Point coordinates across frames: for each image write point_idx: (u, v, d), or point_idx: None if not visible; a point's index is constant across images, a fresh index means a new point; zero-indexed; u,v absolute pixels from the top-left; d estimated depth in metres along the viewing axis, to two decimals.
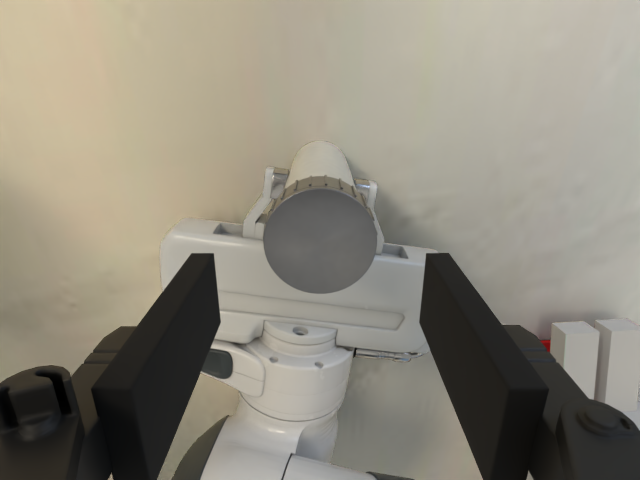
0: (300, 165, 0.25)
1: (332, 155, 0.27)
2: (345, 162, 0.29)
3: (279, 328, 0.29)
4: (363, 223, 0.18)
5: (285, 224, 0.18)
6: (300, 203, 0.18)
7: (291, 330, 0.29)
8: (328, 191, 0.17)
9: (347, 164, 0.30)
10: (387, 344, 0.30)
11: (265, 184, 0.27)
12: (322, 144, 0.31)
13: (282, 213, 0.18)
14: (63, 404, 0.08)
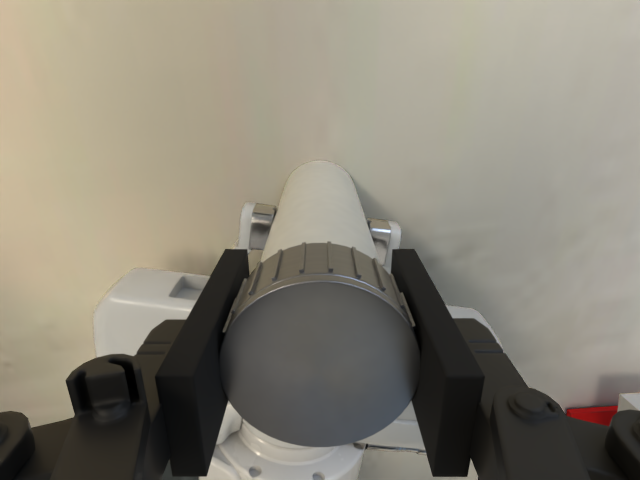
0: (291, 205, 0.17)
1: (337, 186, 0.19)
2: (355, 193, 0.21)
3: None
4: (398, 339, 0.10)
5: (257, 341, 0.10)
6: (283, 306, 0.10)
7: None
8: (335, 286, 0.09)
9: (357, 195, 0.22)
10: (412, 440, 0.22)
11: (241, 229, 0.19)
12: (323, 166, 0.23)
13: (251, 322, 0.10)
14: (132, 392, 0.08)
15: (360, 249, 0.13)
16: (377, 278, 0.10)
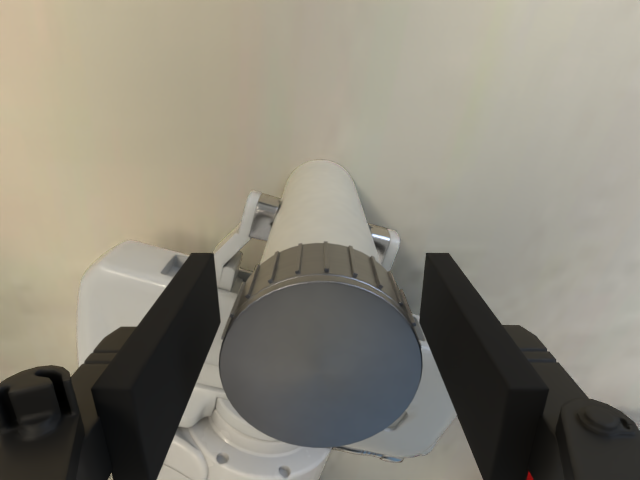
0: (298, 200, 0.17)
1: (344, 188, 0.20)
2: (358, 198, 0.21)
3: (236, 413, 0.21)
4: (292, 301, 0.09)
5: (276, 414, 0.11)
6: (242, 389, 0.10)
7: None
8: (226, 347, 0.10)
9: None
10: (379, 445, 0.22)
11: (244, 216, 0.19)
12: (329, 166, 0.23)
13: (257, 415, 0.11)
14: (63, 404, 0.08)
15: (368, 252, 0.13)
16: None
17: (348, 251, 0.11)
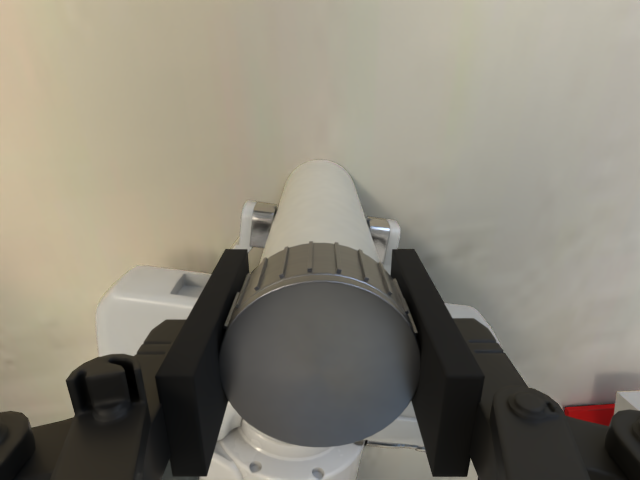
0: (291, 203, 0.17)
1: (337, 185, 0.20)
2: (354, 192, 0.21)
3: None
4: (279, 305, 0.10)
5: (284, 418, 0.11)
6: (246, 398, 0.10)
7: None
8: (223, 358, 0.10)
9: (357, 194, 0.22)
10: (411, 436, 0.22)
11: (242, 227, 0.19)
12: (323, 165, 0.23)
13: (265, 421, 0.11)
14: (132, 391, 0.08)
15: (359, 246, 0.13)
16: None
17: (334, 248, 0.11)
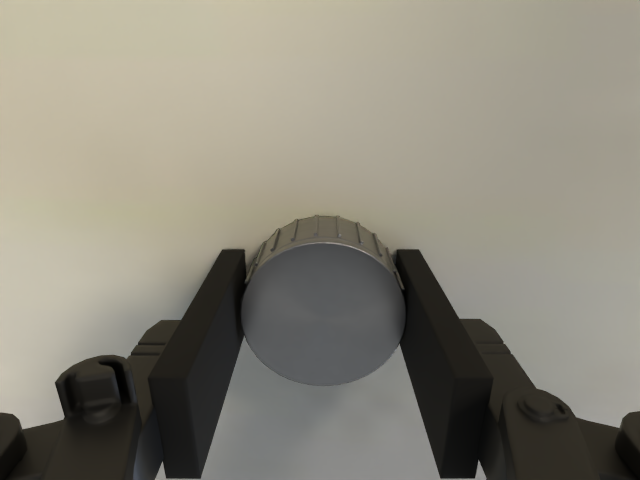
0: None
1: None
2: None
3: None
4: (291, 262, 0.12)
5: (293, 360, 0.13)
6: (262, 341, 0.13)
7: None
8: (244, 307, 0.12)
9: None
10: None
11: None
12: None
13: (278, 362, 0.13)
14: (122, 393, 0.08)
15: None
16: None
17: (336, 220, 0.13)
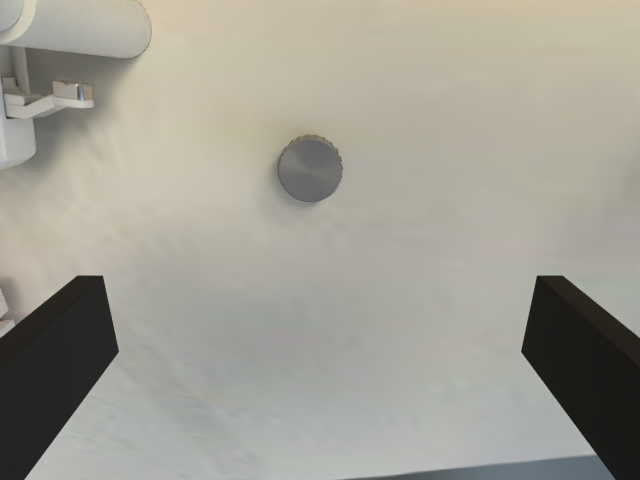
0: None
1: (115, 28, 0.26)
2: (116, 47, 0.27)
3: None
4: (298, 147, 0.32)
5: (299, 189, 0.33)
6: (287, 181, 0.33)
7: None
8: (280, 166, 0.33)
9: (118, 51, 0.28)
10: None
11: None
12: (141, 25, 0.29)
13: (292, 191, 0.33)
14: None
15: (43, 21, 0.19)
16: (284, 150, 0.33)
17: (315, 135, 0.34)
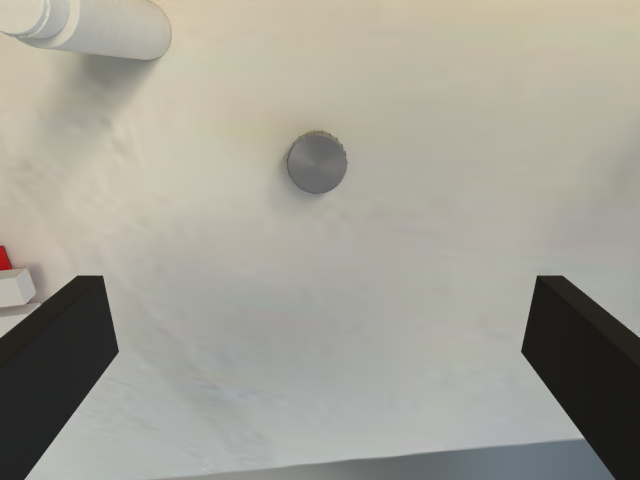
0: None
1: (141, 33, 0.28)
2: (141, 50, 0.30)
3: None
4: (306, 142, 0.35)
5: (306, 182, 0.36)
6: (295, 174, 0.35)
7: None
8: (289, 160, 0.35)
9: (142, 54, 0.31)
10: None
11: None
12: (162, 29, 0.32)
13: (300, 183, 0.36)
14: None
15: (84, 28, 0.22)
16: None
17: (321, 132, 0.36)
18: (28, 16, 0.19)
